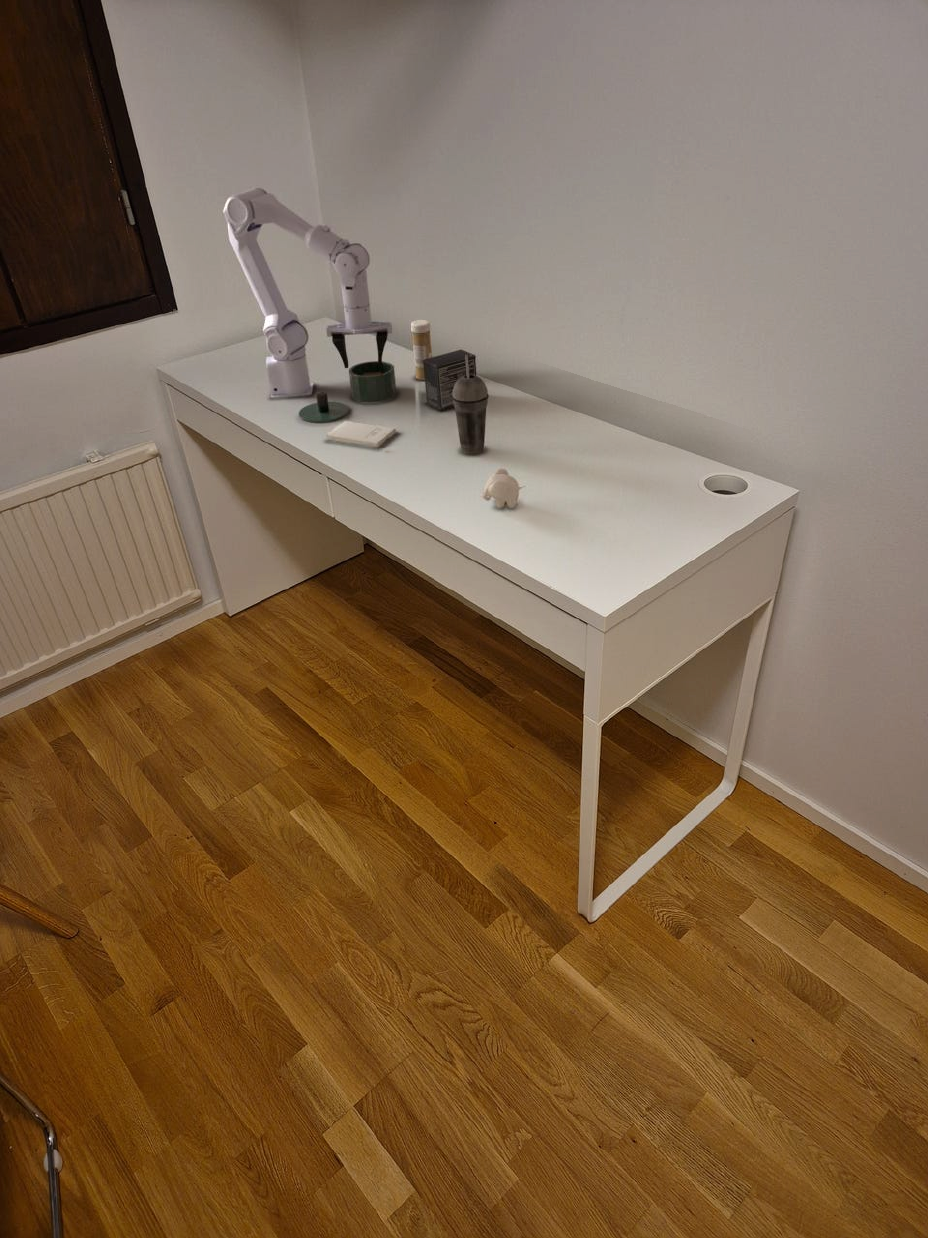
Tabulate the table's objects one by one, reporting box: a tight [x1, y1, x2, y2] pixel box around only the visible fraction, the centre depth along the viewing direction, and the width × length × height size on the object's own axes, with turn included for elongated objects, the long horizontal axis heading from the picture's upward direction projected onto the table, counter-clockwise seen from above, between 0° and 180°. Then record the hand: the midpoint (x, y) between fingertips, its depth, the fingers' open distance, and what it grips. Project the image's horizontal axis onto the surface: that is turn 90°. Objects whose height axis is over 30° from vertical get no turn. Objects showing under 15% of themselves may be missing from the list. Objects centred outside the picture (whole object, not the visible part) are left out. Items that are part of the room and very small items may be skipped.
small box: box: [423, 349, 477, 412], centre depth 194 cm, size 11×6×10 cm, turn 123°
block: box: [363, 372, 382, 376], centre depth 201 cm, size 4×4×4 cm
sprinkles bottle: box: [410, 319, 433, 381], centre depth 207 cm, size 5×5×14 cm
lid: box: [298, 391, 350, 424], centre depth 193 cm, size 11×11×5 cm
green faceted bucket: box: [348, 360, 397, 403], centre depth 201 cm, size 10×10×6 cm
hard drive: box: [325, 420, 397, 450], centre depth 183 cm, size 2×8×12 cm
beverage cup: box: [452, 355, 490, 456], centre depth 170 cm, size 7×7×20 cm
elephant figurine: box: [481, 468, 526, 509], centre depth 154 cm, size 7×8×6 cm
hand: (363, 365), depth 197 cm, fingers open, 7 cm apart
